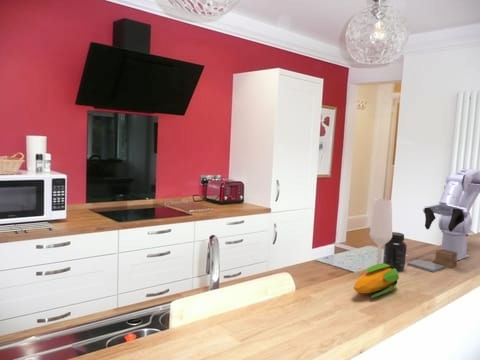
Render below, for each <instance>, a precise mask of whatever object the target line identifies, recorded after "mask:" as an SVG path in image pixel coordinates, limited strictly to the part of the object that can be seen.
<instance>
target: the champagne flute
mask: <svg viewBox="0 0 480 360" xmlns="http://www.w3.org/2000/svg"><path fill="white" fill-rule="evenodd" d="M374 200H375V201H374V206H373V212H372V217H371V224H370V230H369V236H370V238H371V240H372V241H373V242H374V243H375V244H376V245H377V252H376V253H377V255H376V265H377V264H382V263H381V261H382V248H383V246H385V244H386V243H387V242H389V241H390V240H391V238H392V232H393V212H392V211H393V207H392V206H393V204H392V200H390V199H382V198H377V199H376V198H375V199H374Z"/></svg>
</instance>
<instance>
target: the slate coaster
mask: <svg viewBox="0 0 480 360" xmlns="http://www.w3.org/2000/svg"><path fill="white" fill-rule="evenodd" d="M406 265H407V266H410V267H413V268H416V269H419V270H424V271H427V272H431V273H436V272H439V271H441V270H444V269H445V268H446V267H445V266H443V265H439V264H435V262H431V261H429V260H428V261H427V260H424V259H419V258H418V259H415V260H411V261H409V262H407V264H406Z"/></svg>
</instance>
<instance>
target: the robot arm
mask: <svg viewBox="0 0 480 360" xmlns="http://www.w3.org/2000/svg"><path fill="white" fill-rule="evenodd" d="M443 188H444V189H443V191H442V194H441V197H440V199H439V201H438V203H435V204H431V205H424V207H423V208H422V211H423V213H424V216H425V223H424V227H425V229H426V230H430V228H431V227H432V223H433V222H434V221H435V220H436V218H437V217H436V215H435V214H437V215H440V217H439V220H438V228H439V230H440V231H441V233H442V240H441V249H445V250H449V251H453V252H457V261H459V260H463V259H465V258H468V257H469V256H470V255H468V254H467V248H468V237H467V235H468V234H469V233H471V232H470V231H471V227H472V223H473V221H472V220H473V219H472V216H471V215H470V211H471V208H472V207H473V205H474V203H475V201H476V199H477V198H478V196H479V195H480V169H474V168H473V169H472V168H471V169H470V168H465V167H464V168H462V169H460V171H458V172H456V173H455V174H454V173H451V174H448V175H446V178H445V183H444V187H443ZM441 249H440V250H441Z"/></svg>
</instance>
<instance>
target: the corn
mask: <svg viewBox="0 0 480 360" xmlns="http://www.w3.org/2000/svg"><path fill="white" fill-rule="evenodd" d="M399 279H400V276H399V272H397V270H396V269H395V268H394V269H393V267H392V266H390V265H388V264H383V263H381V264H377V263H376V264H374V265H371V266H369V267H368V268H367V269H366V270H365V272H364V273H363V274H362V275H360V277H359V278H358V279H357V280H356V281H355V283H354V286H353V290H354V291H355V292H357V293H358V294H373V293H374V294H373V295H371V296H370V299H372V298H377V297H380V296H382V295H385V294H386V293H389V292H391V291H394V289H395V288H396V285H397V284H398V280H399ZM379 291H380V292H379ZM376 292H377V293H376Z"/></svg>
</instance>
